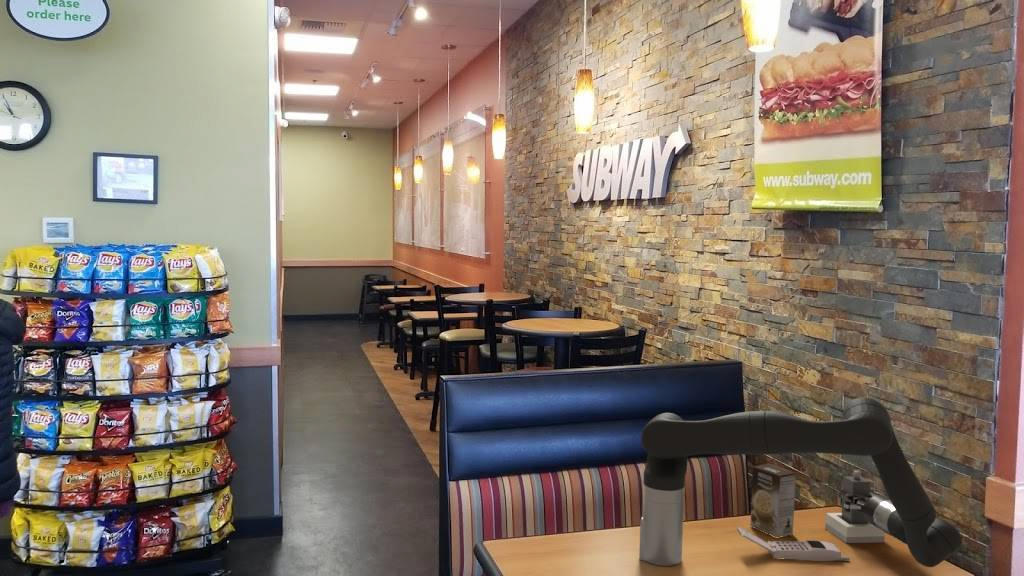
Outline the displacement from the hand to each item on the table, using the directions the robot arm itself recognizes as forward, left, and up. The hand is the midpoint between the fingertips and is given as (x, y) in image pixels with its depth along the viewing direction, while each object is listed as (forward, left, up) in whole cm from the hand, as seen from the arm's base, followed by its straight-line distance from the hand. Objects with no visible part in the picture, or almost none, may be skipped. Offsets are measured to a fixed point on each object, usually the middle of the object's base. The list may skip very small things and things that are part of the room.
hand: (850, 493), depth 202 cm
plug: (+1, -2, -7) cm, 8 cm away
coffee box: (-19, -7, -10) cm, 22 cm away
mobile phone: (-14, -22, -10) cm, 28 cm away
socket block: (+1, -2, -10) cm, 10 cm away
